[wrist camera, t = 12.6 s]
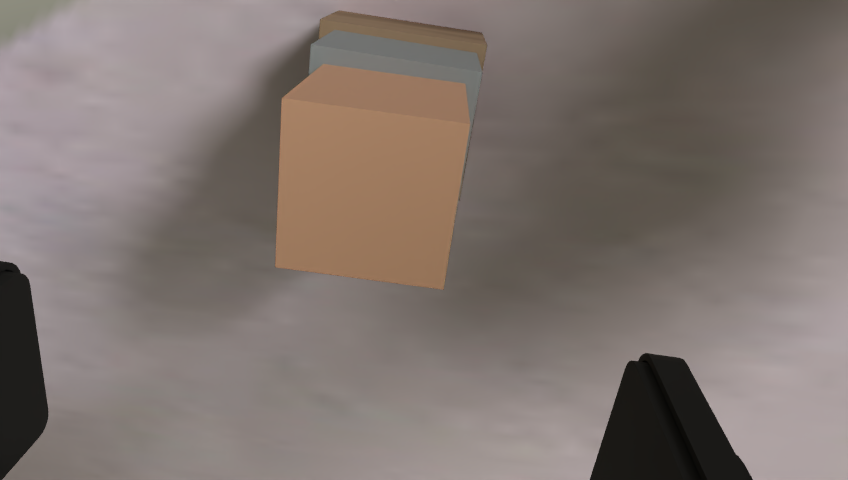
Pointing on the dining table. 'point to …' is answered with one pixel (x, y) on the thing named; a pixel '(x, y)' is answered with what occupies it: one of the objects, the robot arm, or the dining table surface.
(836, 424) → the dining table surface
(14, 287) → the robot arm
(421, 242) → the terracotta block
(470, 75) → the slate top block
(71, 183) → the dining table surface
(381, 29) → the walnut base block
